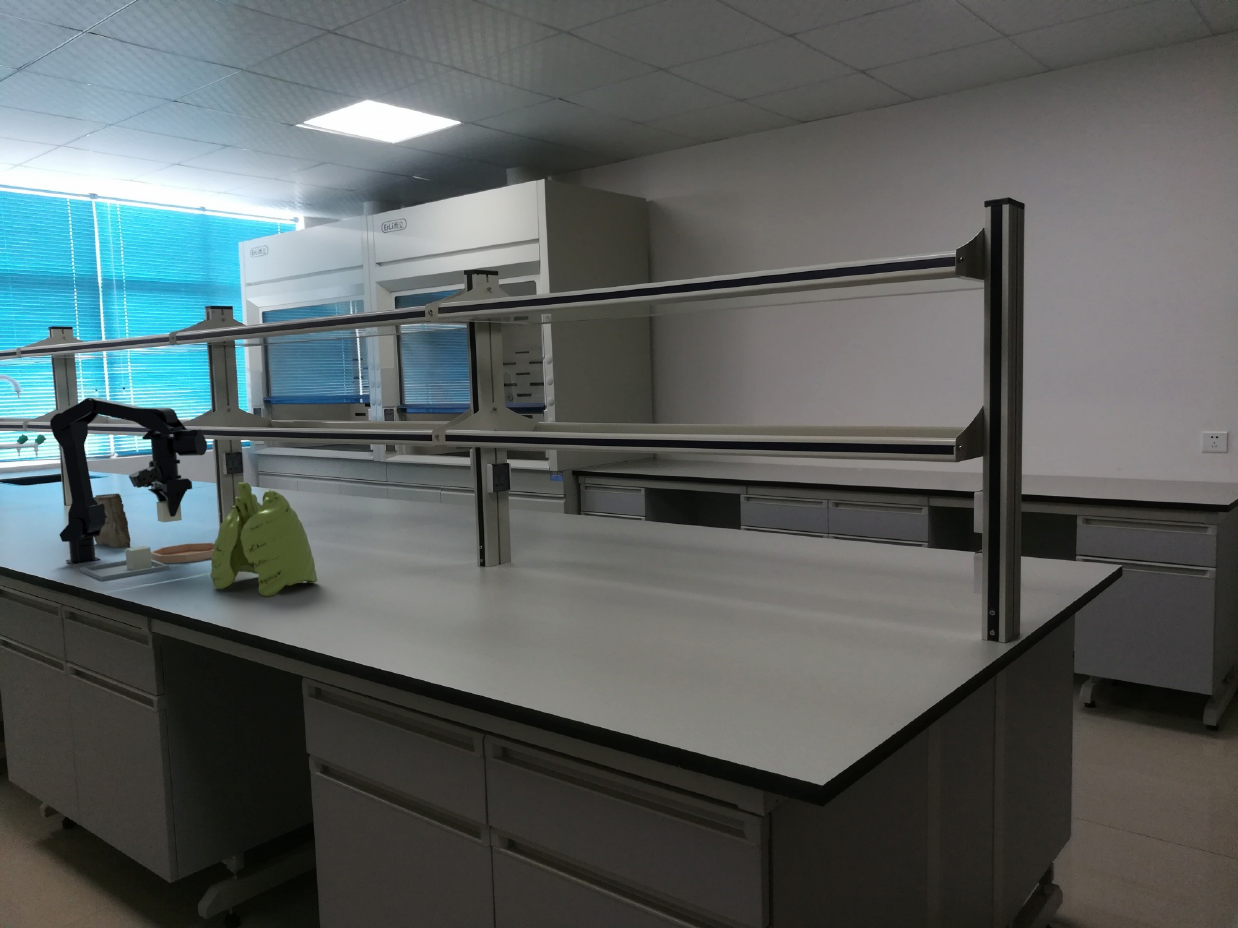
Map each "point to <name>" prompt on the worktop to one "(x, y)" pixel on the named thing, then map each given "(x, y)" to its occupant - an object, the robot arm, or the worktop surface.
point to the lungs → (262, 544)
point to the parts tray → (119, 570)
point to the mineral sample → (113, 522)
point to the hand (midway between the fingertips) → (169, 515)
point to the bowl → (183, 553)
